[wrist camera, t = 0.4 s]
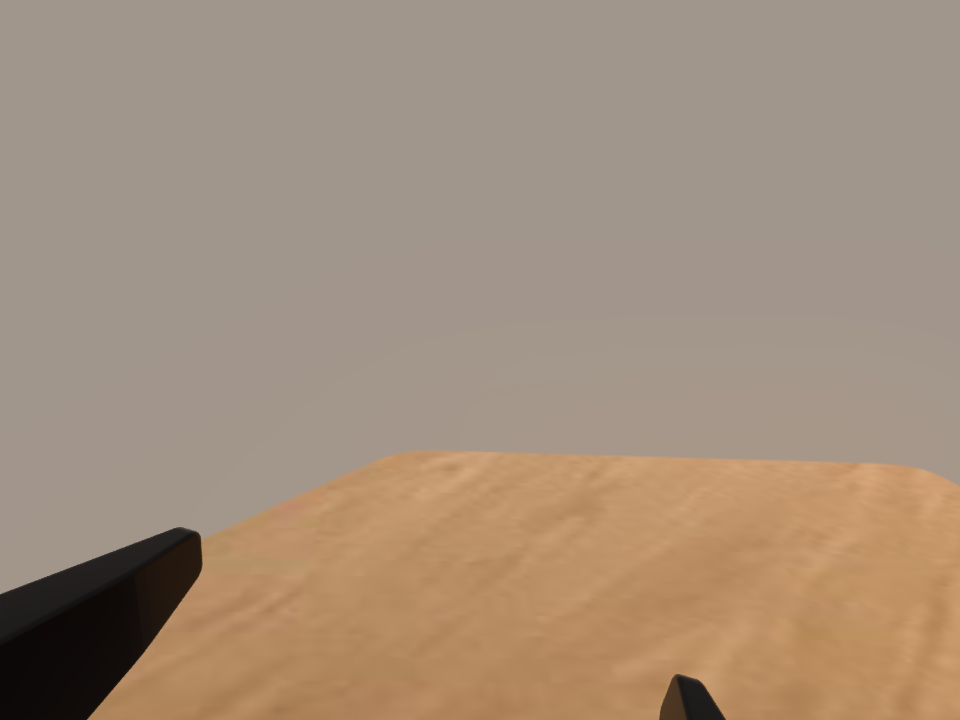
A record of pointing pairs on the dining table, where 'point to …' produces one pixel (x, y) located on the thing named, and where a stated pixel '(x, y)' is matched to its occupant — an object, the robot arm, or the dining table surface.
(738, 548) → the dining table surface
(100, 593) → the robot arm
